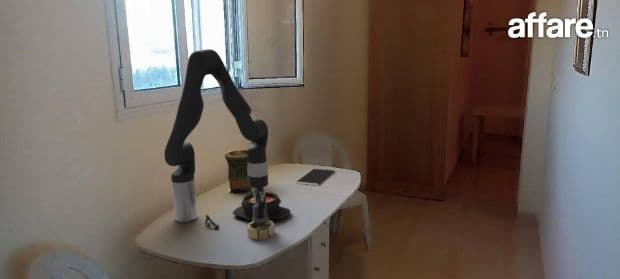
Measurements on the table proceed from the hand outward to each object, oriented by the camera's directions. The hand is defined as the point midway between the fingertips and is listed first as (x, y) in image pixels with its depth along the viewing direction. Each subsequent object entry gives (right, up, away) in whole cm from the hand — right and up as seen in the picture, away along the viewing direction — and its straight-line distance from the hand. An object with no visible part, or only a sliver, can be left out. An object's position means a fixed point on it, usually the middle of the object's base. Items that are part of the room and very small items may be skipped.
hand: (260, 216), depth 167 cm
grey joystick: (0, -2, 0) cm, 2 cm away
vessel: (-16, +3, +55) cm, 58 cm away
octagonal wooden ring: (0, -7, +2) cm, 7 cm away
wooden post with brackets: (-21, -6, +10) cm, 24 cm away
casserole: (-2, -4, +21) cm, 21 cm away
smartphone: (+22, +8, +73) cm, 77 cm away
